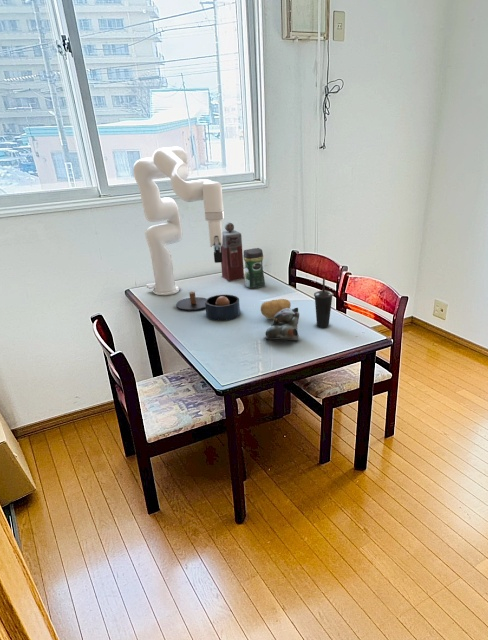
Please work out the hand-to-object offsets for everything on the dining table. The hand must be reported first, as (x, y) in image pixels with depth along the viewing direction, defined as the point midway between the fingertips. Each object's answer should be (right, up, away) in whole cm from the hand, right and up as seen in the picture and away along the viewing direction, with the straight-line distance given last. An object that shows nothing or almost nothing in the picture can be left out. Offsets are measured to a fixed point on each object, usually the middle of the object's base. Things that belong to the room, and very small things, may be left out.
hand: (218, 259), depth 205 cm
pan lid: (-14, -14, +23) cm, 31 cm away
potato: (+24, -23, +8) cm, 34 cm away
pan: (0, -21, +13) cm, 24 cm away
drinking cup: (+43, -28, 0) cm, 51 cm away
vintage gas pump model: (+1, +6, +57) cm, 57 cm away
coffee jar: (+12, -1, +45) cm, 47 cm away
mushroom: (+1, -20, +12) cm, 24 cm away
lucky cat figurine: (+26, -35, -11) cm, 45 cm away
